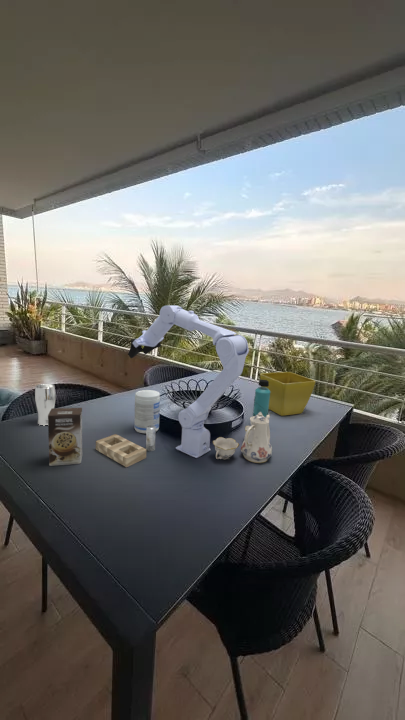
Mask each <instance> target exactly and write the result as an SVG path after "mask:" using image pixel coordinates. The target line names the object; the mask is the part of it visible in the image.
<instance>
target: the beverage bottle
mask: <svg viewBox="0 0 405 720" xmlns="http://www.w3.org/2000/svg"><path fill="white" fill-rule="evenodd" d="M258 386H259V387H257V388H255V390H254V391H255V392H254V393H255V394H254V399H253V409H252V410H253V412H252V416H251V417H253V416H256V415H258V413H259V412H261V413H262V414H263V416H264V417H265V418H266V416H267V415H268V414H269V410H270V409H269V400H270V390H269V389H268V388H266V387H268V386H269V381H267V380H260V379H259V380H258ZM261 386H263V387H261Z"/></svg>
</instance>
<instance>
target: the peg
mask: <svg viewBox="0 0 405 720" xmlns="http://www.w3.org/2000/svg"><path fill="white" fill-rule="evenodd" d="M155 429H156V427H155V426H152V425H151V426H147V429H146V433H145V435H146V437H145V438H146V439H145V449H147V450H146V452H153V451H155V450H156V432H155Z"/></svg>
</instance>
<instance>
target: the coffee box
mask: <svg viewBox="0 0 405 720" xmlns="http://www.w3.org/2000/svg"><path fill="white" fill-rule="evenodd" d="M47 428H48V466H50V467H52V466H53V467H54V466H65V465H78V464H81V463H82V457H83V407H61V408H59V407H58V408H57V407H56V408H55V407H54V408H52V409H51V411H50V412H49V414H48V426H47Z"/></svg>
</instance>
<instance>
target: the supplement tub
mask: <svg viewBox="0 0 405 720" xmlns="http://www.w3.org/2000/svg"><path fill="white" fill-rule="evenodd" d="M160 403H161V393H160V392H159V391H158V390H157V391H156V390H154V389H143V390H138V391H136V392H135V395H134V425H133V426H134V429H135V431H136V432H137V433H140V434H146V429H147V426H151V425H152V426H155V427H156V429H155V433H156V432H157V431H158V430H159V428H160V409H161V407H160V406H161V405H160Z"/></svg>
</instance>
